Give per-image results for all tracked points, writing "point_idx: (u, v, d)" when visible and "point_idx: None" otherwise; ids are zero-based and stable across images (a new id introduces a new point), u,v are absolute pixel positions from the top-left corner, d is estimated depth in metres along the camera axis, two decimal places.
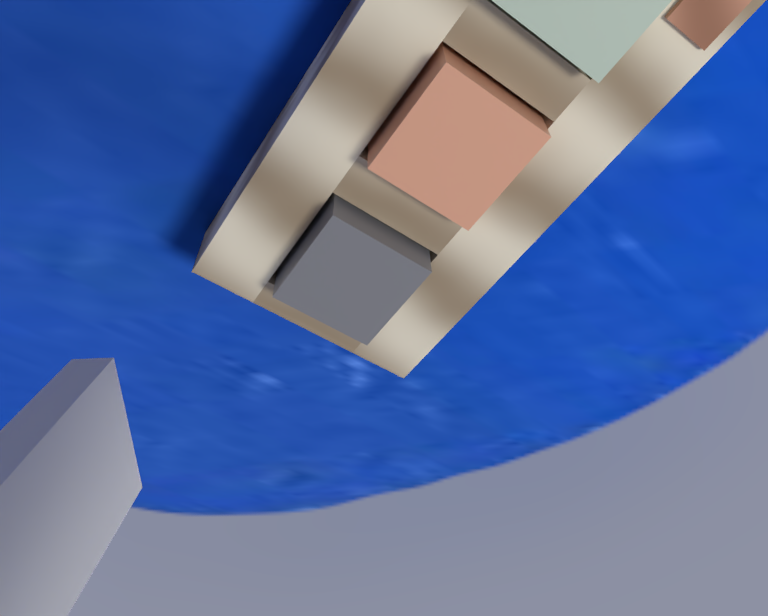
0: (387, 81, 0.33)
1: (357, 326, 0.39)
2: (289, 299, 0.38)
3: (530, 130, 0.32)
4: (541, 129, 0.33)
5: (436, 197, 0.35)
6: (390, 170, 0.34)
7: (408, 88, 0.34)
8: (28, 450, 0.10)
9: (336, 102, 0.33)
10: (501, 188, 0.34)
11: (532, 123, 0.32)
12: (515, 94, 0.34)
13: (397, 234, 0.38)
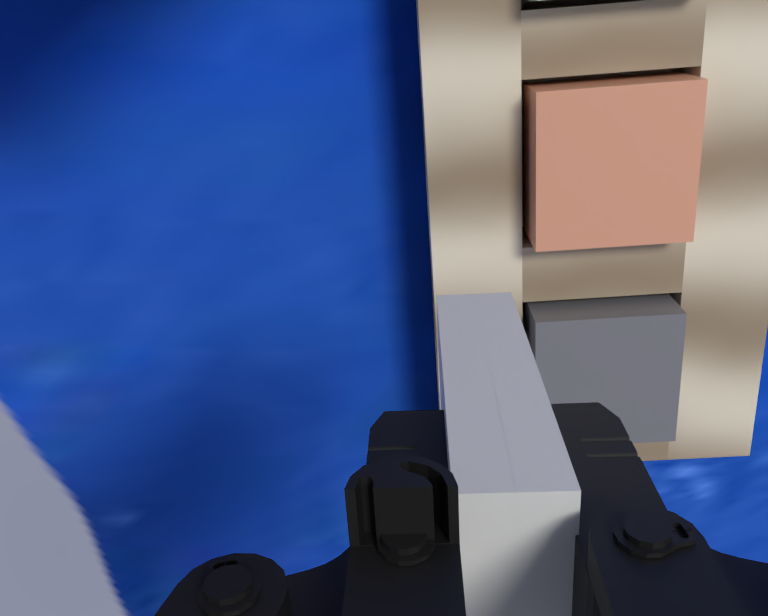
0: (496, 157, 0.28)
1: (648, 425, 0.31)
2: None
3: (678, 89, 0.26)
4: (690, 80, 0.26)
5: (630, 230, 0.28)
6: (560, 237, 0.28)
7: (525, 151, 0.29)
8: (482, 357, 0.12)
9: (463, 212, 0.29)
10: (695, 171, 0.27)
11: (675, 81, 0.26)
12: (638, 75, 0.28)
13: (620, 300, 0.31)
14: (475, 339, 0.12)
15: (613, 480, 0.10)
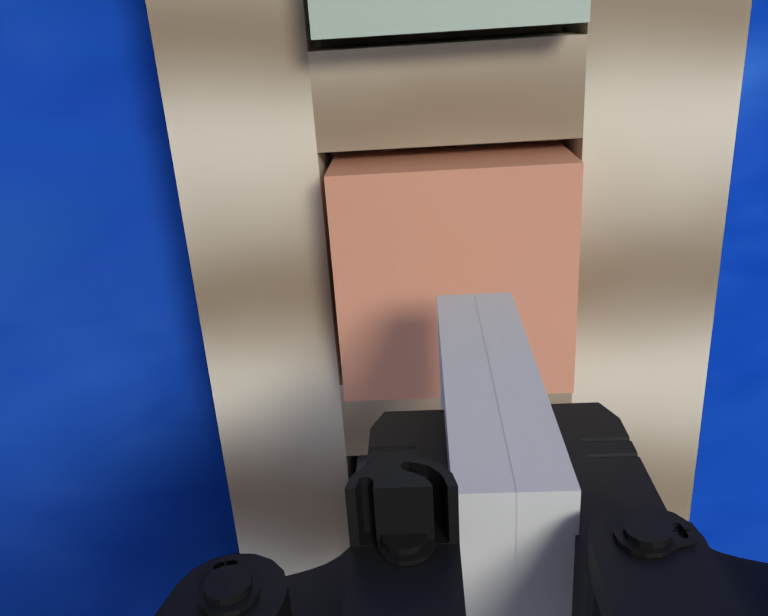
0: (291, 261, 0.19)
1: None
2: None
3: (539, 177, 0.17)
4: (558, 163, 0.17)
5: None
6: (378, 382, 0.19)
7: None
8: (482, 358, 0.12)
9: (251, 335, 0.20)
10: (571, 295, 0.18)
11: (534, 165, 0.17)
12: (500, 145, 0.19)
13: None
14: (475, 339, 0.12)
15: (613, 479, 0.10)
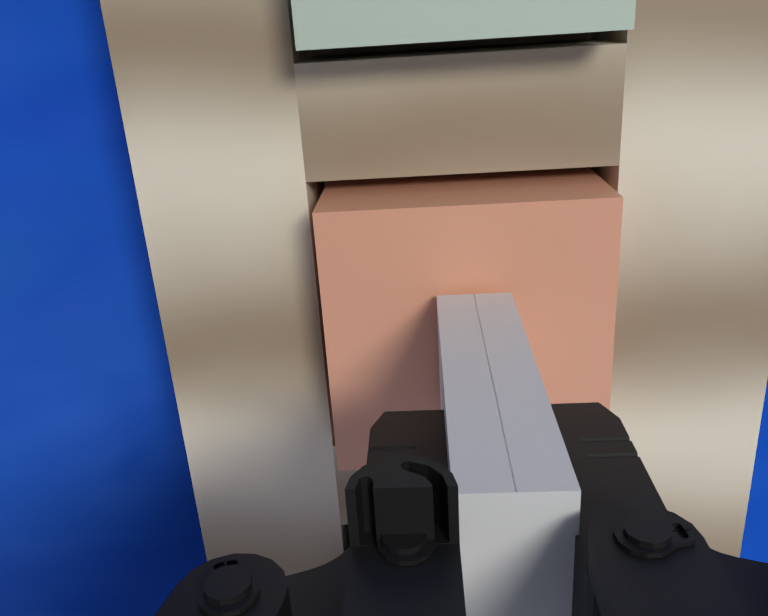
0: (276, 307, 0.17)
1: None
2: None
3: (568, 214, 0.14)
4: (592, 197, 0.14)
5: None
6: None
7: None
8: (483, 358, 0.12)
9: (230, 390, 0.17)
10: (605, 352, 0.15)
11: (564, 199, 0.14)
12: (520, 171, 0.17)
13: None
14: (475, 339, 0.12)
15: (613, 479, 0.10)
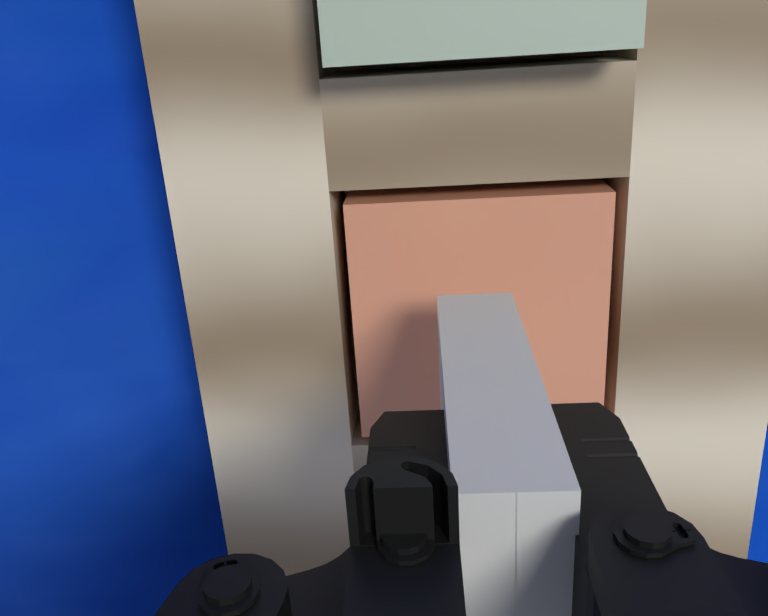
0: (299, 311, 0.17)
1: None
2: None
3: (568, 207, 0.16)
4: (588, 192, 0.16)
5: None
6: None
7: None
8: (483, 357, 0.12)
9: (254, 391, 0.18)
10: (600, 330, 0.17)
11: (563, 194, 0.16)
12: None
13: None
14: (475, 339, 0.12)
15: (613, 479, 0.10)
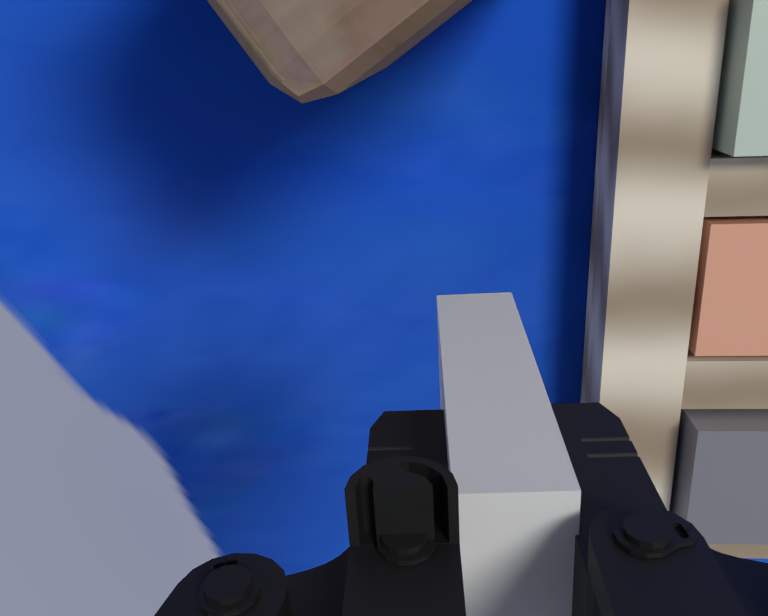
0: (673, 282, 0.31)
1: None
2: None
3: None
4: None
5: None
6: (718, 345, 0.32)
7: None
8: (483, 357, 0.12)
9: (636, 327, 0.32)
10: None
11: None
12: None
13: None
14: (475, 339, 0.12)
15: (613, 480, 0.10)
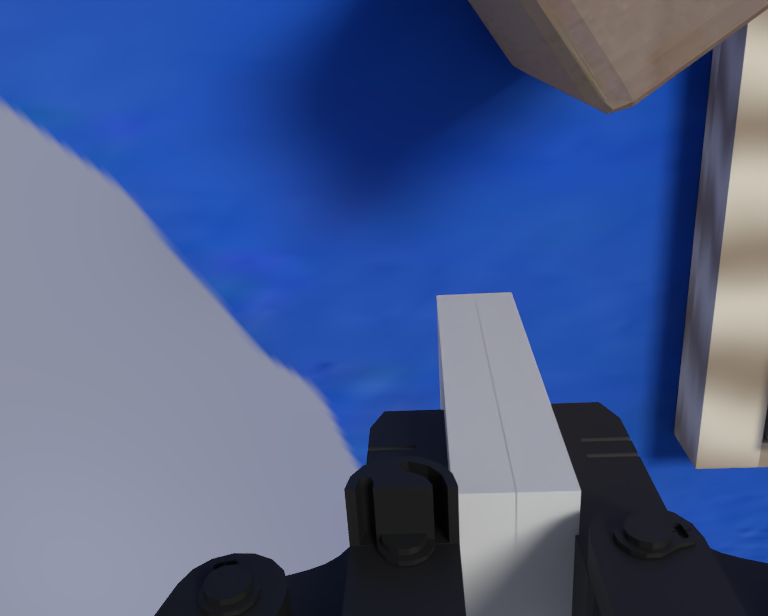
0: None
1: None
2: None
3: None
4: None
5: None
6: None
7: None
8: (482, 357, 0.12)
9: (744, 276, 0.39)
10: None
11: None
12: None
13: None
14: (475, 339, 0.12)
15: (613, 480, 0.10)
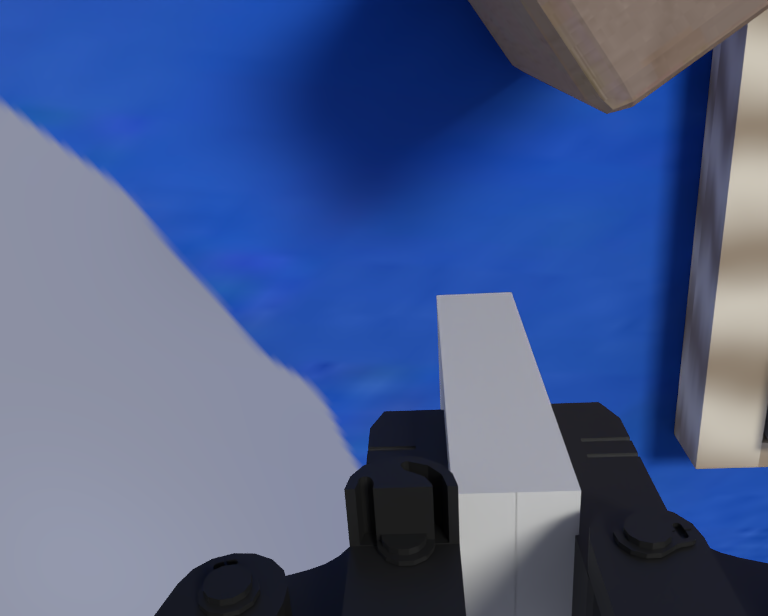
0: None
1: None
2: None
3: None
4: None
5: None
6: None
7: None
8: (482, 357, 0.12)
9: (744, 276, 0.39)
10: None
11: None
12: None
13: None
14: (475, 339, 0.12)
15: (613, 479, 0.10)
